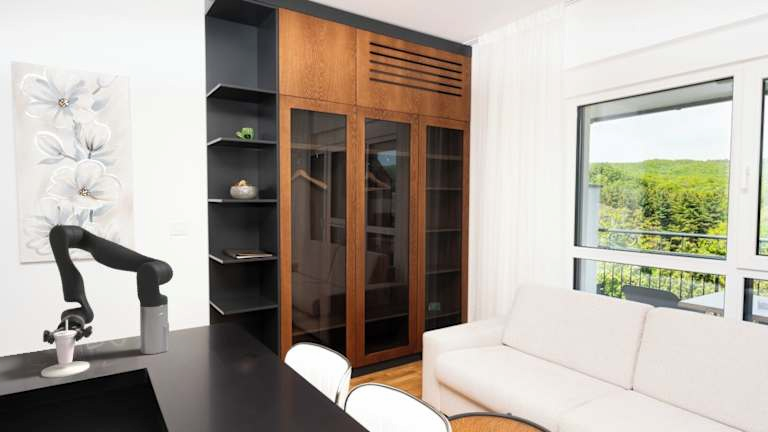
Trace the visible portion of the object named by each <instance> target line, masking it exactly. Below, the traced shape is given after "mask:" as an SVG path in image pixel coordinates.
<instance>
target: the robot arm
mask: <svg viewBox="0 0 768 432" xmlns="http://www.w3.org/2000/svg"><path fill="white" fill-rule="evenodd" d="M48 240H49V244H50V248H51V250H52V254H53V257H54V260H55V263H56V266H57V269H58V272H59V276H60V280H61V285H62V286H61V287H62V295H63V300H64V302H66V303H77V304H79V305H80V306H79V307H73V308H67V309H65V310H63V311H62V312H61V314H60V323H58V326H57V328H56V329H54V330H53V331H50V330H49V329H48V330H47V329H45V330H43V333H42V334H43V335H42V341H43V343H47V344H49V345H53V344H55V338H53V334H54V333H57V332H60V331H66V320H68V330H75V331H77V333H76V337H75V343H76V342H79V341H81V340H82V339H83V338H87V339H88V338H89V337H91V335H93V326H92V325H89V326H85V325H88V324H90V323H92V322H93V320H94V318H95V315H94V311H93V309H92V307H91V305H90V303H89V301H88V298H87V293H86V289H85V281H84V278H83V276H82V273H81V272H80V270H79V269H78V267H76V265H75V263H74V262H73V261H72V258H71V255H70V250H69V249H76V250H81V251H85V252H87V253H89V254H90V255H91V257H92V258H93V259H94V260H95V262H97V263H99V264H100V265H103V266H105V267H106V268H111V269H113V270H118V271H123V272H131V273H136V277H135V278H136V289H137V290H136V292H137V299H138V300H139V320H140V321H139V323H140V324H139V325H140V327H139V328H140V329H139V330H140V331H139V333H140V334H139V336H140V337H139V339H140V341H139V342H140V349H139V350H140V353H141V354H143V355H153V354H154V355H155V354H159V353H166V352H168V350H169V348H170V323H169V318H168V317H169V304H168V303H169V302H168V296H167V295H165V294H162V293H161V291H160V286H162V285H163V286H164V285H165V284H167V283H169V282H170V281H171V280H172V279H173V276H174V271H173V268H172V266H171V265H170V264H169V263H168V262H166V261H165V260H162V259H158V258H154V257H150V256H147V255H144V254H142V253H139V252H137V251H135V250H134V249H130V248H128V247H125V246H124V245H121V244H120V243H117V242H114V241H112V240H109V239H106V238H104V237H101V236H98V235H96V234H94V233H93V232H91V231H89V230H87V229H86V228H84V227H82V226H79V225H76V224H75V225H74V224H73V225H72V224H69V225H67V224H57V225H55V226H53V227H52V228H51V229H50V231H49V233H48Z"/></svg>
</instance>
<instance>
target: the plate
mask: <svg viewBox="0 0 768 432" xmlns="http://www.w3.org/2000/svg"><path fill="white" fill-rule="evenodd" d="M90 366H91V365H90V362H88V361H77V360H74V361H72V362H70V363H67V364H59V363H55V364H54V365H50V366H48V367H46V368H44V369H42V370H41V371H40V373H41V374H40V375H41V377H43V378H49V379H51V378H52V379H53V378H54V379H55V378H56V379H58V378H63V377H70V376H74V375H77V374H81V373H84V372H85V371H88V370H89V369H90Z"/></svg>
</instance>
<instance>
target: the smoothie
mask: <svg viewBox="0 0 768 432" xmlns="http://www.w3.org/2000/svg"><path fill="white" fill-rule="evenodd" d="M76 333H77V331H75V330H68V320H66V331H60V332H57V333H54V334H53V338H55V341H54V344H55V349H56V355H57V361H58V363H57V364H67V363H70V362H73V357H74V351H75V346H76V345H75V344H76V339H75V337H76Z"/></svg>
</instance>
